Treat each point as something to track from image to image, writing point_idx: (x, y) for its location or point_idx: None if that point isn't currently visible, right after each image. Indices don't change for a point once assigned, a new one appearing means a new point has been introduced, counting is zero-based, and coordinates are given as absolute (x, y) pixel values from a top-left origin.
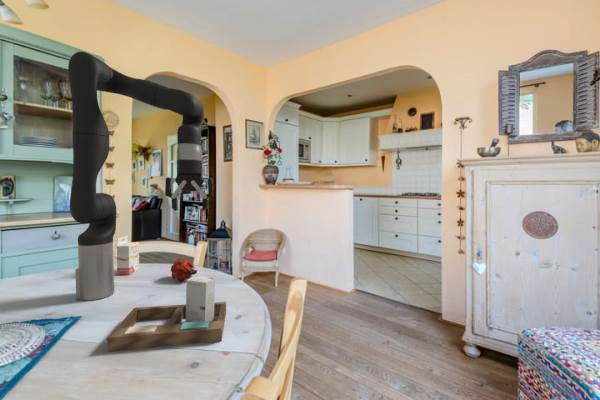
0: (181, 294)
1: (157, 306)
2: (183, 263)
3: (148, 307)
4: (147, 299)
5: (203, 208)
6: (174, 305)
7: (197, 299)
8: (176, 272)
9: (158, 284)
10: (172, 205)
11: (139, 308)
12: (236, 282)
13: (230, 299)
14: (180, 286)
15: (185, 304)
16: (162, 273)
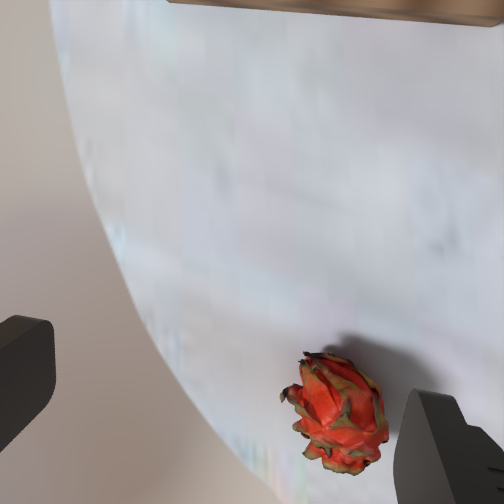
0: (334, 224)
1: (415, 7)
2: (334, 416)
3: (451, 6)
4: (458, 210)
5: (18, 325)
6: (349, 2)
7: None
8: (362, 379)
9: (428, 360)
10: (500, 471)
11: (486, 3)
12: (138, 288)
13: (156, 121)
14: (342, 311)
15: (306, 2)
16: None
